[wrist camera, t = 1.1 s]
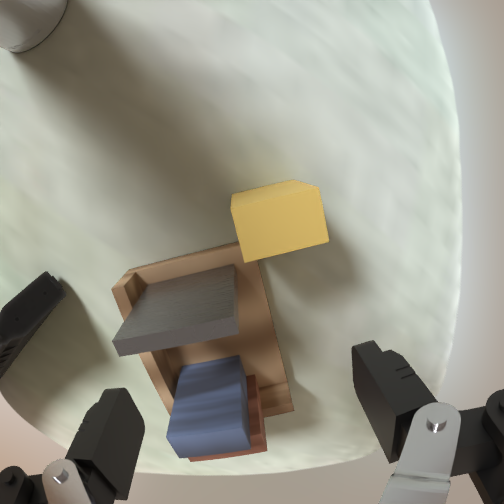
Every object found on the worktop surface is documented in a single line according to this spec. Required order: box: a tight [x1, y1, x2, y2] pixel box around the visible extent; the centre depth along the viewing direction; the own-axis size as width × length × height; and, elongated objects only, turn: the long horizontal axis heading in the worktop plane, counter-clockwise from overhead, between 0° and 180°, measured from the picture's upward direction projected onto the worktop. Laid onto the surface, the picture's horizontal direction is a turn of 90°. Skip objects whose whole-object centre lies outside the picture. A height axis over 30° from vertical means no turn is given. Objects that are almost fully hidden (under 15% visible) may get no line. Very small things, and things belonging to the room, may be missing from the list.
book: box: [230, 180, 329, 263], centre depth 24 cm, size 4×6×9 cm, turn 104°
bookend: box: [112, 264, 239, 357], centre depth 23 cm, size 1×8×10 cm, turn 104°
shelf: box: [111, 242, 294, 462], centre depth 26 cm, size 17×12×12 cm
